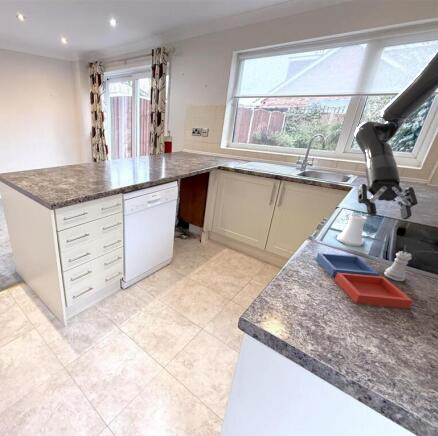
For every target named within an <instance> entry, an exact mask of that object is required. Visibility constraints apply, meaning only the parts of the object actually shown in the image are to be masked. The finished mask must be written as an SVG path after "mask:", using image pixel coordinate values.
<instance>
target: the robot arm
mask: <svg viewBox="0 0 438 436" xmlns="http://www.w3.org/2000/svg"><path fill="white" fill-rule="evenodd" d="M437 90H438V51H436V53H435V54H434V55H433V56H432V58H430V60H429V61H428V62H427V63H426V65H425V66H424V67H423V68H422V69H421V71H420V72H419V73H418V74H417V75H416V76H415V77H414V78H413V80H411V81H410V82H409V84H407V86H405V87H404V88H403V89H402V90H401V92H400V93H398V94H397V96H395V97H394V98H393V99H392V100H391V101H390V102H389V103H388V104H387V105H386V106H385V107H384V108H383V109H382V110H381V113H380V116H381V118H382V120H383V121H385V122H379V121H371V120H369V121H364V122H362V123H361V124H359V126H358V127H356V130H355V132H354V139H355V141H356V144H357V145H358V148H359V149H360V150H361V152H362V153H363V157H364V162H365V163H364V164H365V167H364V169H365V175H366V182H367V184H366V183H362V184H361V185H360V186H359V187H358V188H357V202H358V204H364V205H365V206H366V212H367V213H366V214H367V215H369V217H374V216H376V215H377V207H376V203H375V202H376V200H378V201H386V202H391V203H393V204H394V205H396V206H398V207H399V211H400V215H401V216H400V217H401V219H402V220H407V219H410V218H411V217H412V215H413V214H412V210H411V208H413V207H414V206H416V205H418V203H419V202H418V198H417V196H416V193H415V189H414V188H413V187H412V186H410V187H407V188H402V187H401V185H400V184H401V178H400V174H399V169H398V165H397V161H396V158H395V156H394V152H393V148H392V145H391V144H390V143H389V142H390V141H391V140H392V139H393V138H395V136H396V134H397V133H398V131H400V129H401V127H402V126H403V124H405V122H406V120H407V119H409V118H410V117H411V116H412V115H414V114H415V112H417V111H418V110H420V108H421V107H422V106H424V105H425V103H426V102H428V100H429V99H430V98H431V97H432V96H433V95H434V93H435V92H436V91H437ZM368 193H370V194H371V196H370V197H369V198H368ZM397 198H398V199H397Z"/></svg>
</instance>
